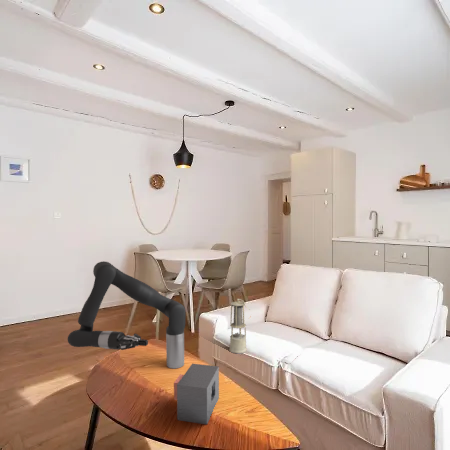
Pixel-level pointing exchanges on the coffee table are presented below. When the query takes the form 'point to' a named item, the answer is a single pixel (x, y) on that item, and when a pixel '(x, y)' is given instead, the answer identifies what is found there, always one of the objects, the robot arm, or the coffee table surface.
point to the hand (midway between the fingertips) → (147, 342)
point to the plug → (176, 386)
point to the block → (198, 393)
